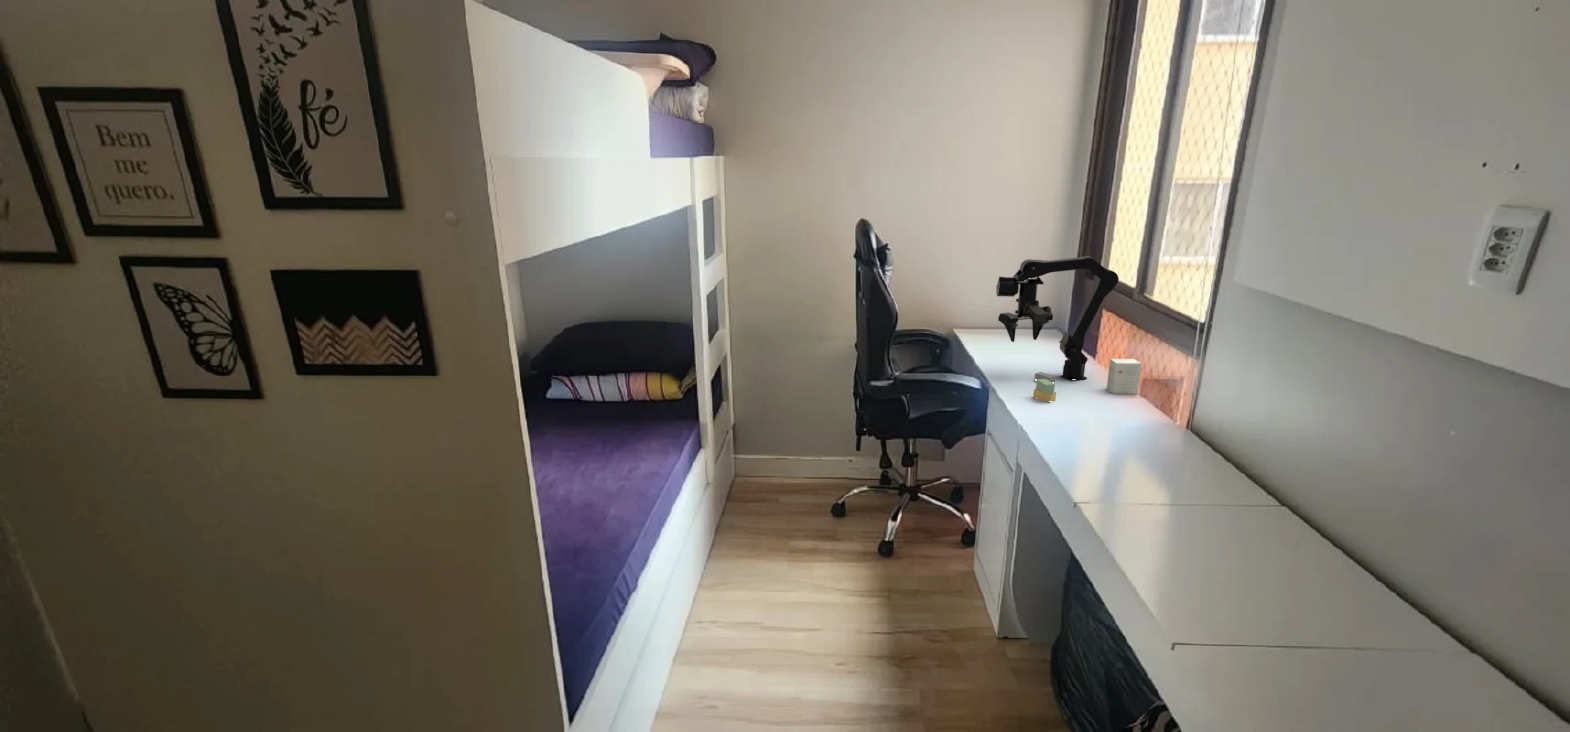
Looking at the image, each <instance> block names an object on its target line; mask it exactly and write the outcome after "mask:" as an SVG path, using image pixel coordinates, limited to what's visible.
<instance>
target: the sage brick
mask: <svg viewBox="0 0 1570 732" xmlns="http://www.w3.org/2000/svg"><path fill="white" fill-rule="evenodd" d="M1055 384H1056V383H1055ZM1055 384H1053V383H1051V382H1050V381H1048V380H1047V379H1037V382H1036V384H1035V389H1038V390H1039V391H1041V392H1042V393H1044V394H1054V392H1055V386H1056V385H1055Z"/></svg>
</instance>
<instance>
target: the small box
mask: <svg viewBox="0 0 1570 732" xmlns="http://www.w3.org/2000/svg"><path fill="white" fill-rule="evenodd" d="M1141 369H1142V363H1141V362H1140V361H1138V360H1136V359H1135V358H1110V359H1109V364H1108V373H1107V381H1106V382H1107V384H1106V390H1108V391H1109V392H1110V393H1112V394H1113V395H1115V394H1117V395H1122V394H1123V395H1125V394H1127V395H1128V394H1129V395H1133V394H1134V395H1137V394H1138V392H1139V383H1140V377H1141Z"/></svg>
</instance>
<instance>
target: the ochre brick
mask: <svg viewBox="0 0 1570 732" xmlns="http://www.w3.org/2000/svg"><path fill="white" fill-rule="evenodd" d="M1032 394H1033V397H1034V398H1038V399H1041V400H1040V401H1042V400H1044V401H1043V402H1046V401H1053V402H1056V397H1057V391H1054V394H1044V393H1042V392H1041V391H1039V390H1038V389H1036V388H1035V389H1033V393H1032ZM1033 397H1032V398H1033ZM1034 398H1033V399H1034ZM1038 399H1037V400H1038Z"/></svg>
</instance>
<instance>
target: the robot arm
mask: <svg viewBox="0 0 1570 732" xmlns="http://www.w3.org/2000/svg"><path fill="white" fill-rule="evenodd" d="M1083 269H1084V270H1086V271H1088V272H1089V273H1090V274H1091V275H1092V276H1093V281H1092V285H1091V286H1092V287H1091V291H1090V292H1091V293H1090V295H1089V296H1088V298H1087V301H1086V302H1085V304H1084V306H1083V308H1082V310H1081V312H1080V315H1079V316H1078V318H1077V320H1076V322H1075V324H1074V326H1073V328H1072V329H1071V331H1069V333H1067V332H1066V331H1064V333H1063V335H1062V338H1061V339H1060V341H1059V342H1058V343H1060V344H1059V350H1060V352H1062V354H1063V355H1064V357H1065V360H1064V364H1063V368H1062V374H1063V376H1064V377H1066V378H1065V379H1067V378H1069V379H1082V380H1086V379H1085V378H1087V379H1088V377H1087V376H1085V372H1086V371H1085V369H1086V364H1087V363H1088V360H1089V358H1088V356H1086V355H1085V354H1084V353H1083V349H1084V346H1085V338H1086V334H1087V332H1088V331H1089V329H1090V327H1091V324H1092V323H1093V321H1094V319H1095V316H1096V315H1097V313H1098V311H1099V309H1100V307H1101V305H1102V304H1103V302H1104V299H1105V298H1106V297H1107V296H1108V295H1109V294H1111V292H1112V291H1113V290H1114V288H1115V287H1116V285H1118V283H1119V279H1120V278H1119V275H1118V274H1117V273H1116V272H1115V271H1114V270H1111V269H1109V268H1106V267H1104V266H1103V265H1102V264H1100V263H1099V262H1097V261H1096V260H1095V259H1094V258H1093V257H1091V256H1090V255H1084V256H1079V257H1070V258H1061V259H1053V260H1052V259H1051V260H1043V259H1033V258H1032V259H1029V258H1028V259H1025V260H1023V261H1021V264H1020V266H1019V269H1018V270H1017V271H1016V273H1015V274H1014V275H1013V276H1011V277H1010V276H1009V277H1008V276H998V280H997V284H996V292H995V293H996V294H995V295H996V297H1015V296H1016V295H1018V298H1016V299H1015V302H1016V303H1017V309H1016V310H1014V313H1012V312H1001V313H999V315H998V318H997V319H998V322H999V323H1001V324H1003V325H1004V327H1005V329H1006V331H1007V334H1008V337H1009V339H1010V341H1011V342H1012V343H1015V339H1016V329H1017V327H1018V326H1019V323H1018V322H1019V321H1020V320H1021V321H1023V320H1031V323H1032V339H1033V340H1034V341H1037V339H1038V337H1039V335H1040V333H1041V331H1042V329H1043V327H1044V326H1045V325H1047V324H1049V323H1050V321H1053V320H1054V314H1053V311H1052V307H1050V305H1047V306H1040V302H1039V300H1038V299H1037V295H1038V293H1037V292H1038V285H1044V284H1045V282H1044V281H1043V280H1042V279H1041V277H1042V276H1045V275H1047V274H1050V273H1059V272H1067V271H1075V270H1077V271H1078V270H1083ZM1064 377H1063V378H1064ZM1069 379H1068V380H1069Z"/></svg>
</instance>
